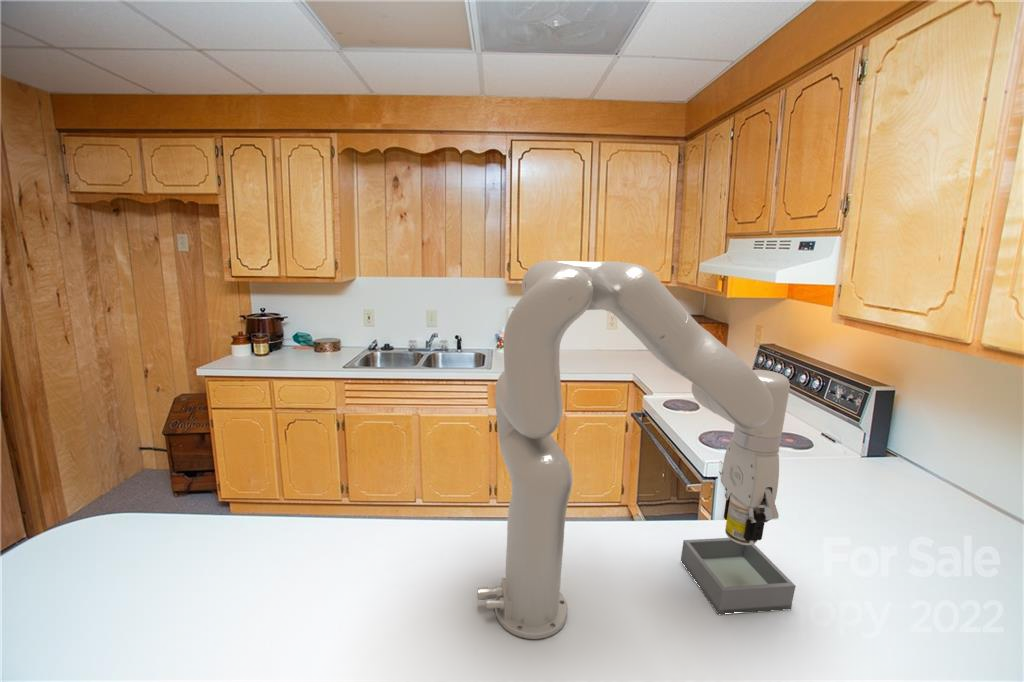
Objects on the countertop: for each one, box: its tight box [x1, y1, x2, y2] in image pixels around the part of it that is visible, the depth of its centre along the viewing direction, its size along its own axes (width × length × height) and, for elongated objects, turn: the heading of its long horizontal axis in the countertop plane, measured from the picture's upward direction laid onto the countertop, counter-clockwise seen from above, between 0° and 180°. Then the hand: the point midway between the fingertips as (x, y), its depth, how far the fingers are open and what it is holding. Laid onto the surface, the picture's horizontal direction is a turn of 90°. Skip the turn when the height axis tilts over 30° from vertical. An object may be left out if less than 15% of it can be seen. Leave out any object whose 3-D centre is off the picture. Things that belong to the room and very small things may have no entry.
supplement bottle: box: [724, 494, 760, 545], centre depth 87 cm, size 6×6×10 cm
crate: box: [680, 537, 796, 615], centre depth 90 cm, size 14×14×5 cm
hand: (741, 528), depth 88 cm, fingers closed on supplement bottle, 5 cm apart
